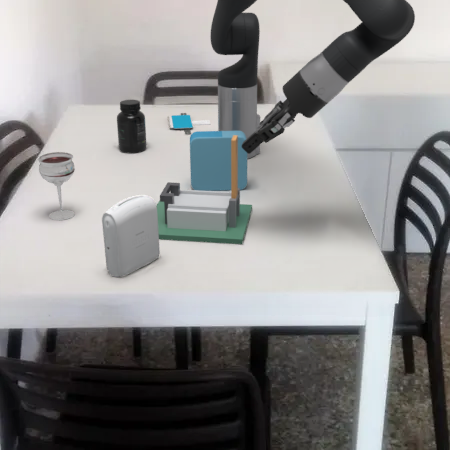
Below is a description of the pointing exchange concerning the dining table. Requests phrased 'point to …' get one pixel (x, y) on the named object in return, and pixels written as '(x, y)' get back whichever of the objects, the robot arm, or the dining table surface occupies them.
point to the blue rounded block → (216, 160)
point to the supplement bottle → (131, 127)
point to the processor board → (204, 234)
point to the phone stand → (185, 122)
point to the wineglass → (57, 176)
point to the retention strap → (234, 167)
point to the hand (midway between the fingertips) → (245, 149)
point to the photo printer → (130, 234)
